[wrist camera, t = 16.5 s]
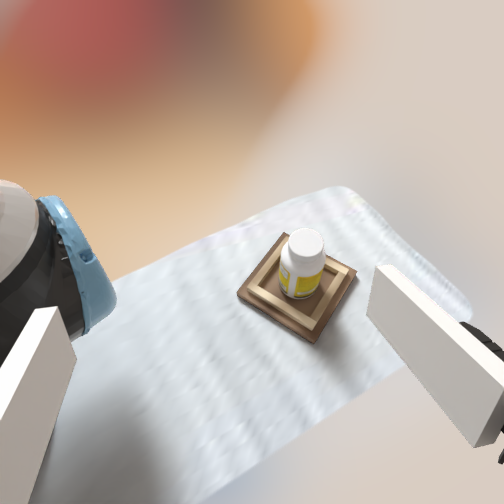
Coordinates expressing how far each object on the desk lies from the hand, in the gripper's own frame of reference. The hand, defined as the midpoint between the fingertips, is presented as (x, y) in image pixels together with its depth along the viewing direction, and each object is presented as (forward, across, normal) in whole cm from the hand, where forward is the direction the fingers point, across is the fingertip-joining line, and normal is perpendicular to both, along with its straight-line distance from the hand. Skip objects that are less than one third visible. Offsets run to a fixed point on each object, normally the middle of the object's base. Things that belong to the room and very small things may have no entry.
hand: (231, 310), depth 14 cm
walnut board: (+25, +12, -17) cm, 33 cm away
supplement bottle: (+25, +12, -16) cm, 32 cm away
